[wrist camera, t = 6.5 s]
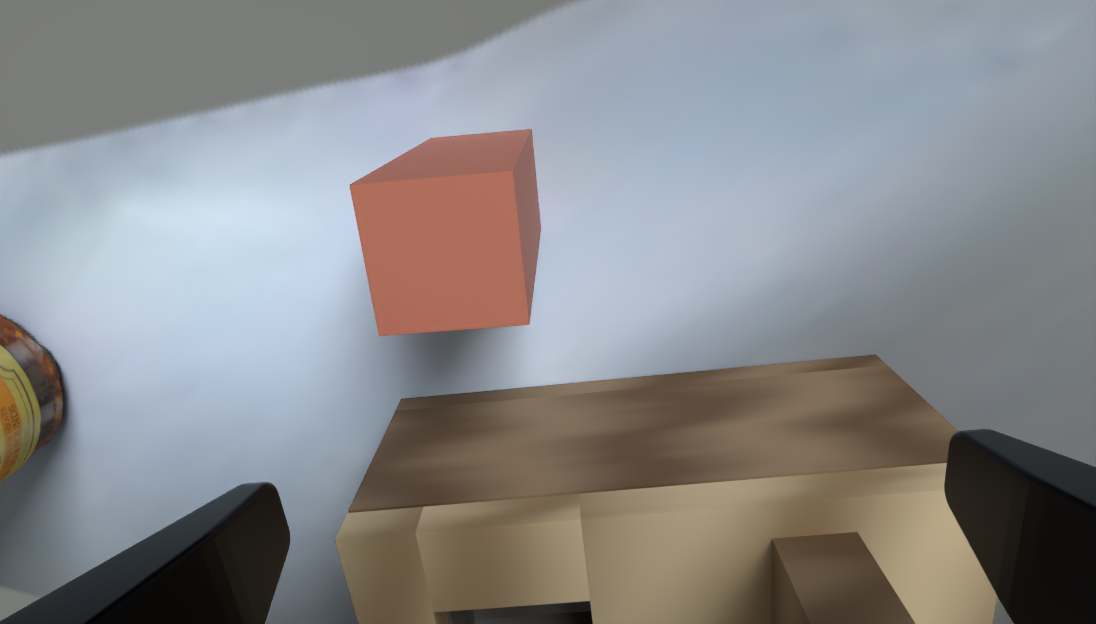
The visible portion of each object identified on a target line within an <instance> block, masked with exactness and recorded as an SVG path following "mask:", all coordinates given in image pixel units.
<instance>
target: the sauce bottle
mask: <svg viewBox="0 0 1096 624" xmlns="http://www.w3.org/2000/svg"><path fill="white" fill-rule="evenodd" d="M59 379H60V374H59V371H58V369H57V366H56V363H55V361H54V360H53V358H52V357H51V356H50V354H49V353H48V350H46V349H45V348H43V347H42V346H41V345H40V344H38V343H37V342H35V341H34V340H33V339H32V337H31V336H30V335H29V334H28V333H26V332H25V331H24V330H23V329H22V328H21V327H19V326H18V325H17V324H16V323H15V322H13V321H11V320H9V319H7V318H5V317H3V316H2V315H0V483H1V482H3V481H4V480H5V479H7V478H8V477H10V476H11V475H12V474H14V473H15V472H16V471H18V470H19V469H20V468H21V467H22V466H23V465H24V464H25V463H26V461H27V460H28V459H29V457H30V456H31V454H32V453H34V452H35V451H36V450H37V449H38V448H40V447H42V446H43V445H45V444H46V443H47V442H48V441H49V439H50V438H51V437H52V435H53V434H54V433H55V430H56V429H57V428H58V426H59V425H60V424H61V422H62V420H61V416H62V412H63V393H62V387H61V386H60V380H59Z"/></svg>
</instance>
